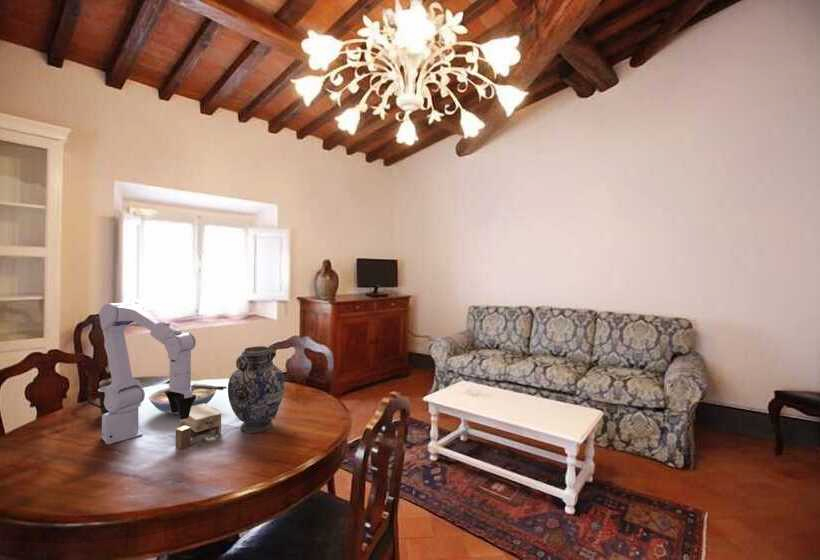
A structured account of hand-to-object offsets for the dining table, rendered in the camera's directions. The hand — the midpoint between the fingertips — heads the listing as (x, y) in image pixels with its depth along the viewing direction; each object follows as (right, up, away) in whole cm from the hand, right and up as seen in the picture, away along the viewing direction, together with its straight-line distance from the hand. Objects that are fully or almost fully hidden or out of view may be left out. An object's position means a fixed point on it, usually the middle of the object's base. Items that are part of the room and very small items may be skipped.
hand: (179, 415), depth 120 cm
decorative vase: (+18, -10, +15) cm, 25 cm away
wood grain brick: (+4, -9, +3) cm, 11 cm away
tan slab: (+1, -9, +10) cm, 14 cm away
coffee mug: (-41, -8, +24) cm, 49 cm away
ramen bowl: (-15, -9, +28) cm, 33 cm away
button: (+8, -10, +5) cm, 13 cm away
